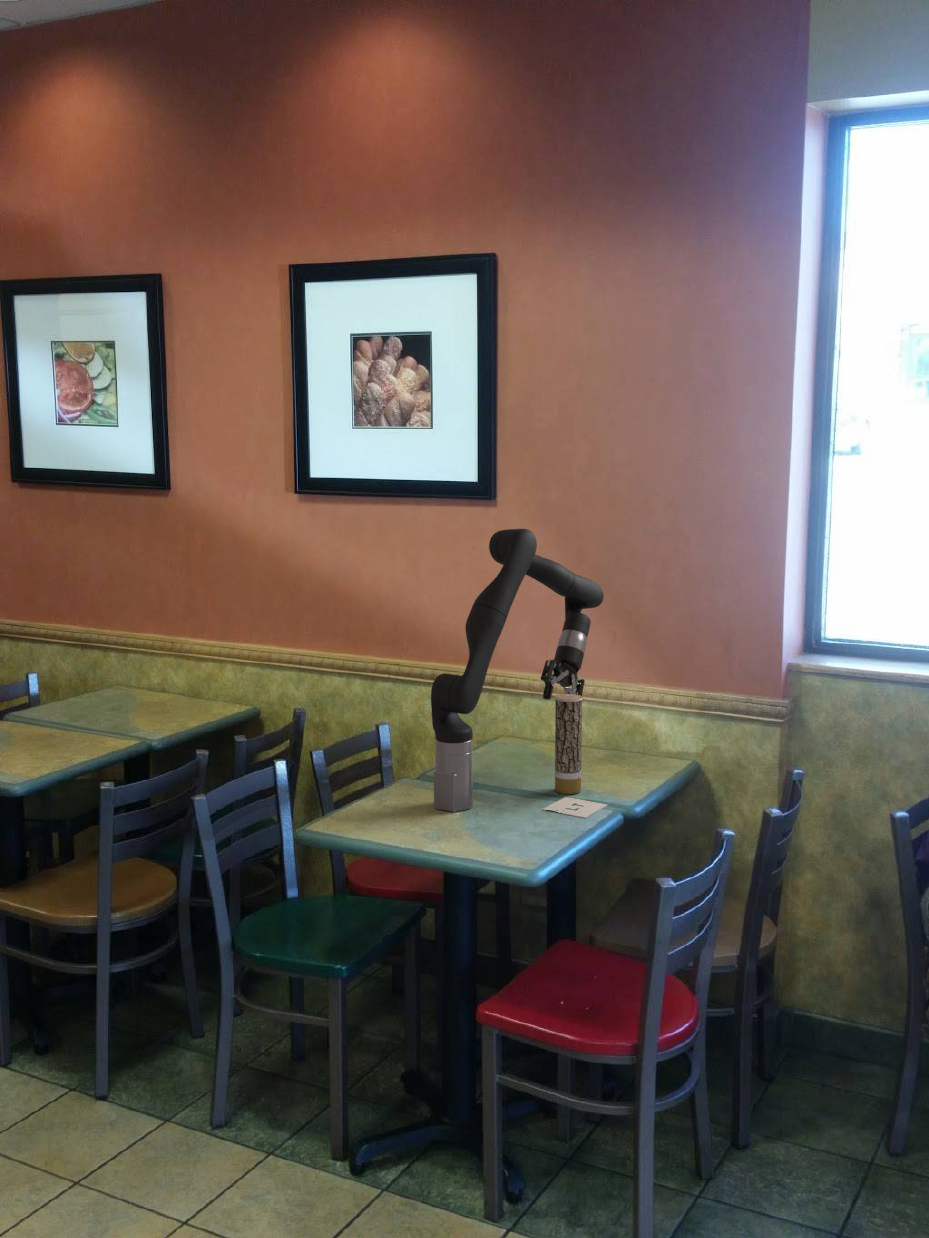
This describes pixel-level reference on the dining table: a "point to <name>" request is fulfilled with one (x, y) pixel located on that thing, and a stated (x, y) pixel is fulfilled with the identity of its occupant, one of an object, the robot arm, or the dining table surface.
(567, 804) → the card
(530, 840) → the dining table surface
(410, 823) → the dining table surface
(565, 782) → the brown bark cylinder
